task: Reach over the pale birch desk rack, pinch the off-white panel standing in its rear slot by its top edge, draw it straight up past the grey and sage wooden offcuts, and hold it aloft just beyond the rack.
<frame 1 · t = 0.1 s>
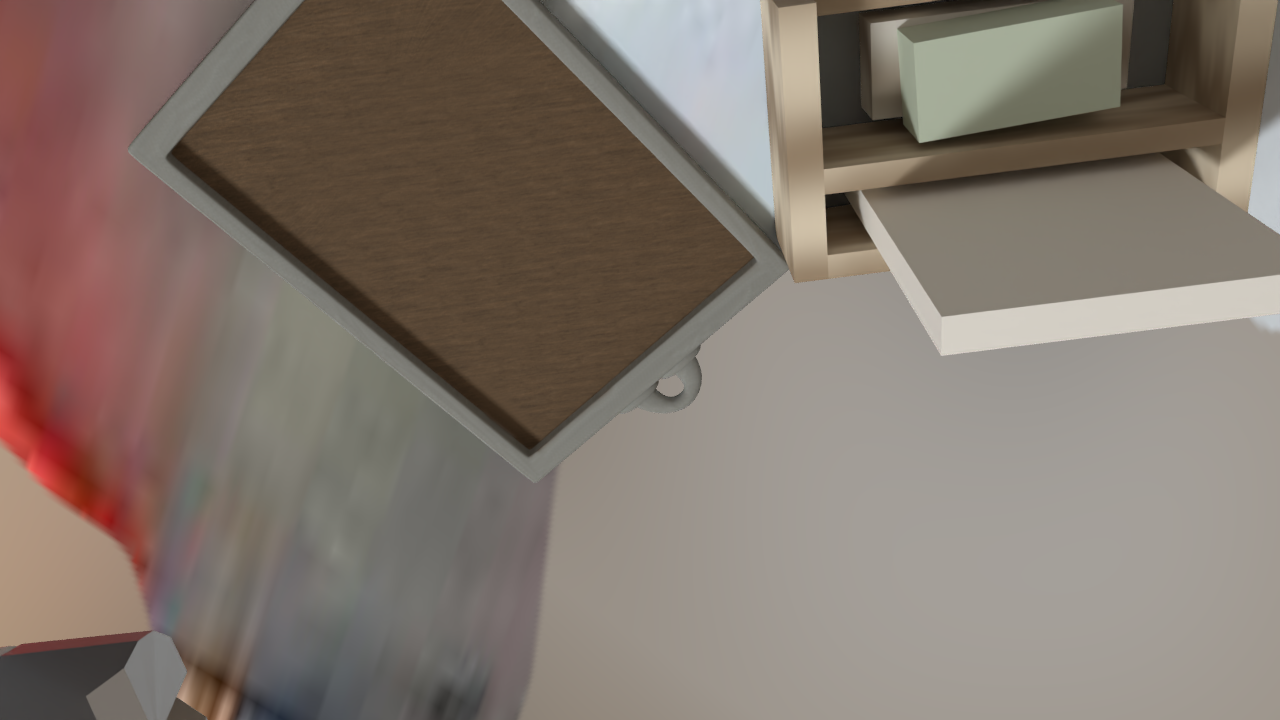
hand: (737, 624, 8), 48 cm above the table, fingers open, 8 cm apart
offcut top: (996, 59, 52), point 2 cm above the table, touching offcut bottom
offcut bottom: (980, 42, 55), on the table, touching offcut top
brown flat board: (493, 216, 58), on the table
rack: (981, 160, 57), on the table
off-white rectangular board: (980, 159, 57), on the table
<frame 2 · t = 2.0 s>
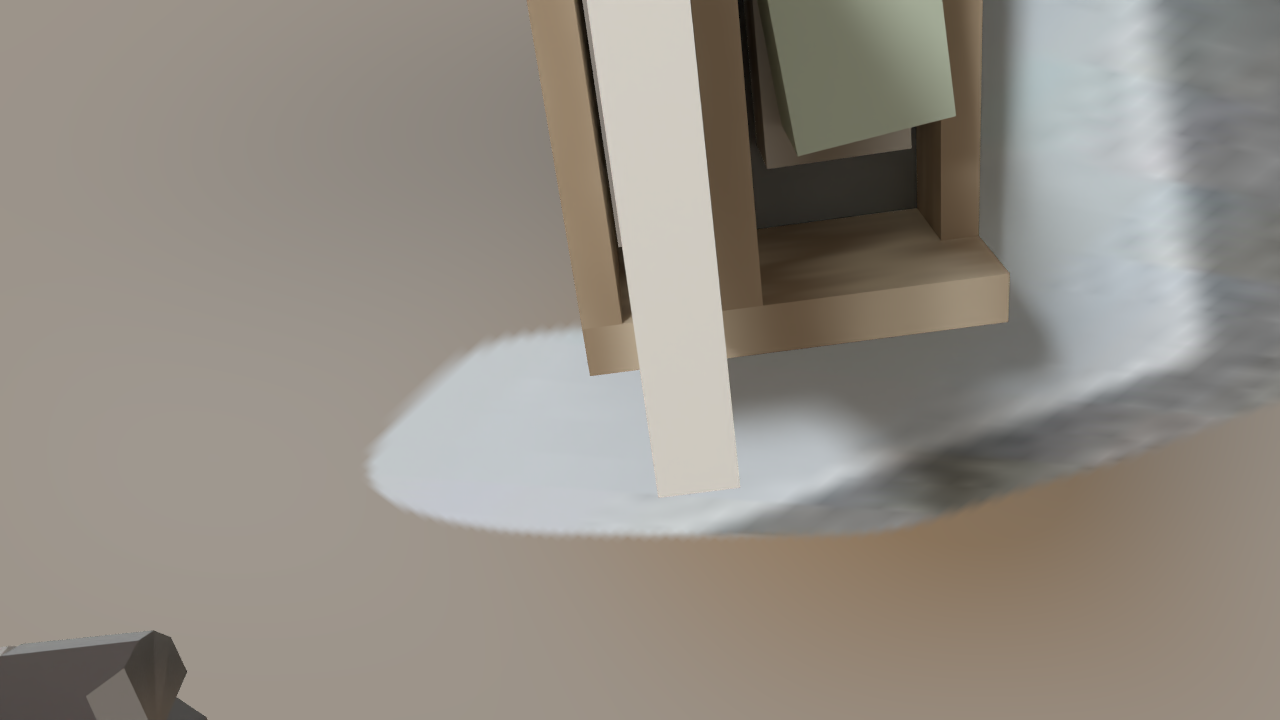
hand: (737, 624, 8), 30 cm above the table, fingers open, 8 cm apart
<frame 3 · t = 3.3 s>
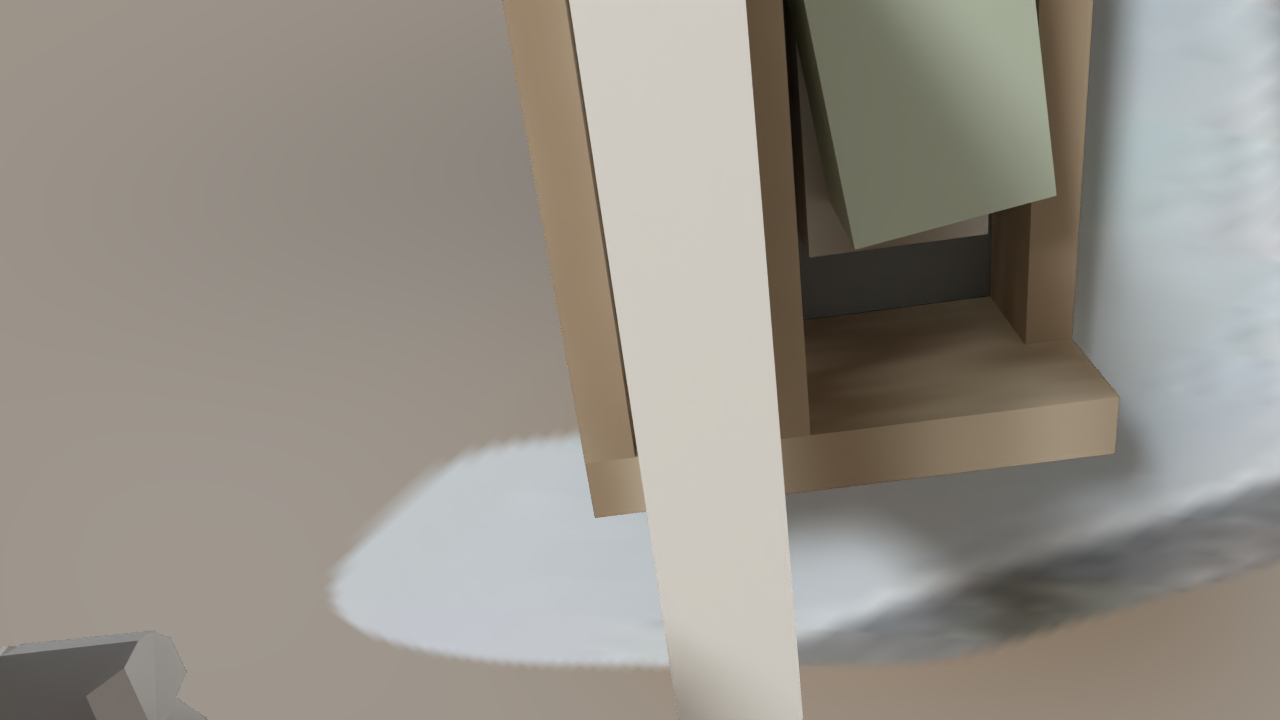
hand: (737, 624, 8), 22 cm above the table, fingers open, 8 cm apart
rack: (641, 14, 28), on the table
off-white rectangular board: (641, 14, 28), on the table
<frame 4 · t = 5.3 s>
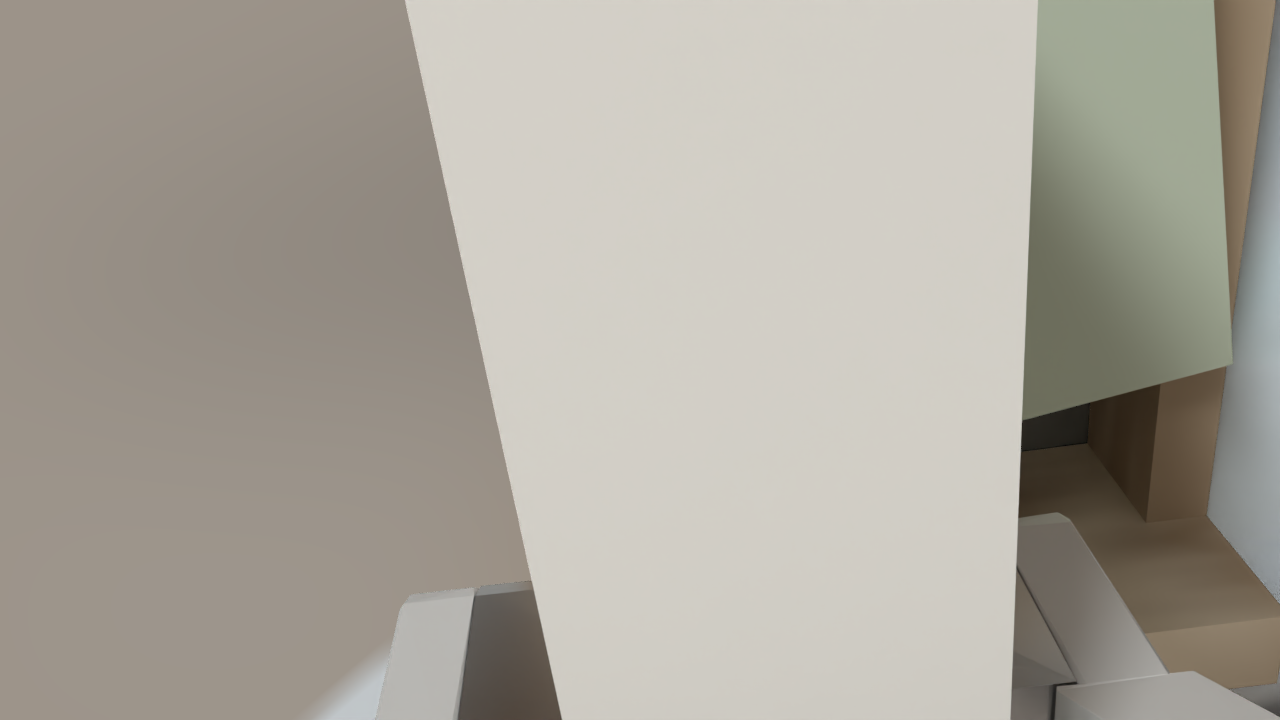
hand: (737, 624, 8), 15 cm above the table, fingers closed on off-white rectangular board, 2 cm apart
offcut top: (994, 89, 19), point 2 cm above the table, touching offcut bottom
rack: (647, 100, 21), on the table
off-white rectangular board: (646, 99, 21), on the table, touching gripper
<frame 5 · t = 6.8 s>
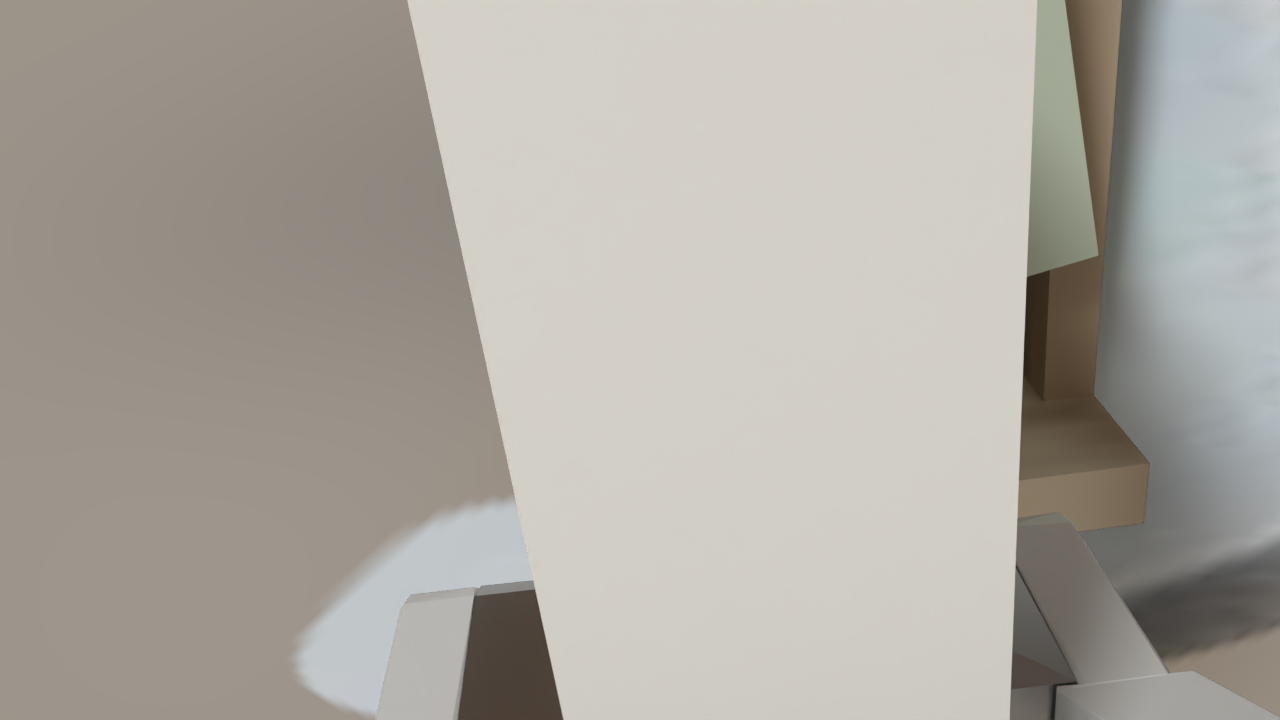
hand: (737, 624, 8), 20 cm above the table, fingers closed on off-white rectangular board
offcut top: (906, 40, 23), point 3 cm above the table, touching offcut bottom
rack: (625, 47, 26), on the table
off-white rectangular board: (646, 99, 21), point 5 cm above the table, touching gripper
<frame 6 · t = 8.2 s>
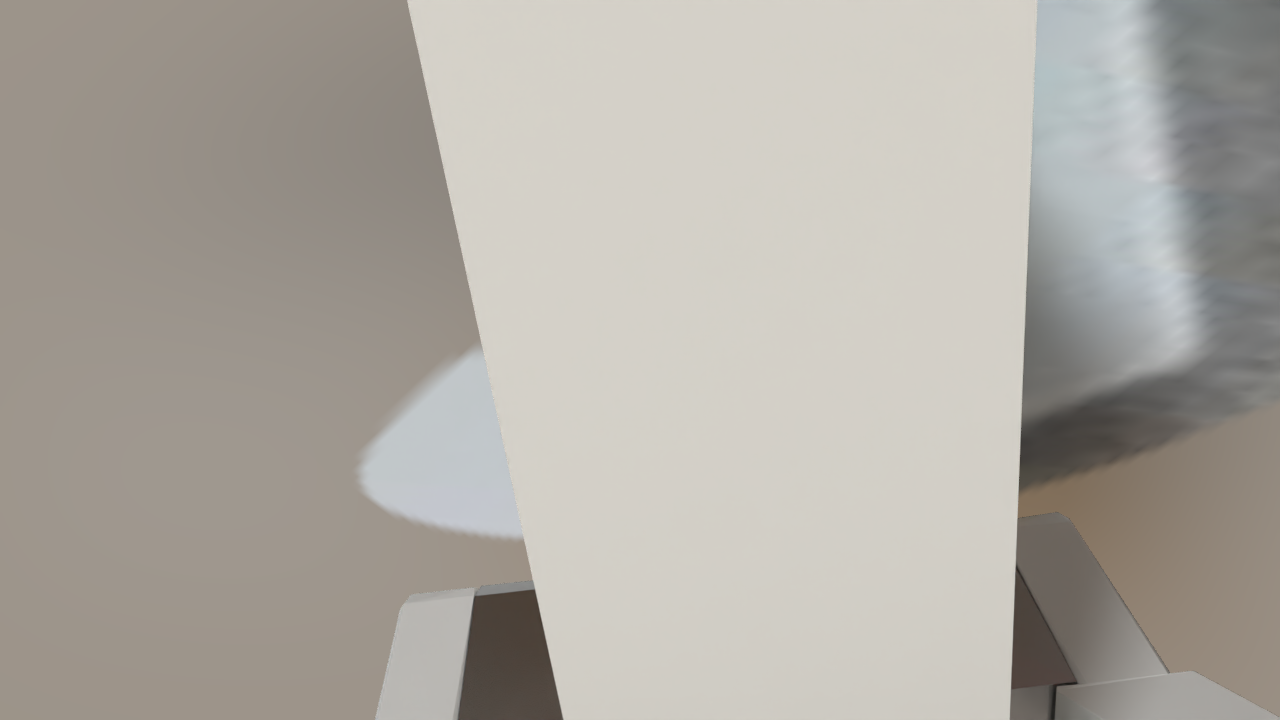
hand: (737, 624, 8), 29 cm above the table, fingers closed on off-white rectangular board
off-white rectangular board: (646, 100, 21), point 15 cm above the table, touching gripper
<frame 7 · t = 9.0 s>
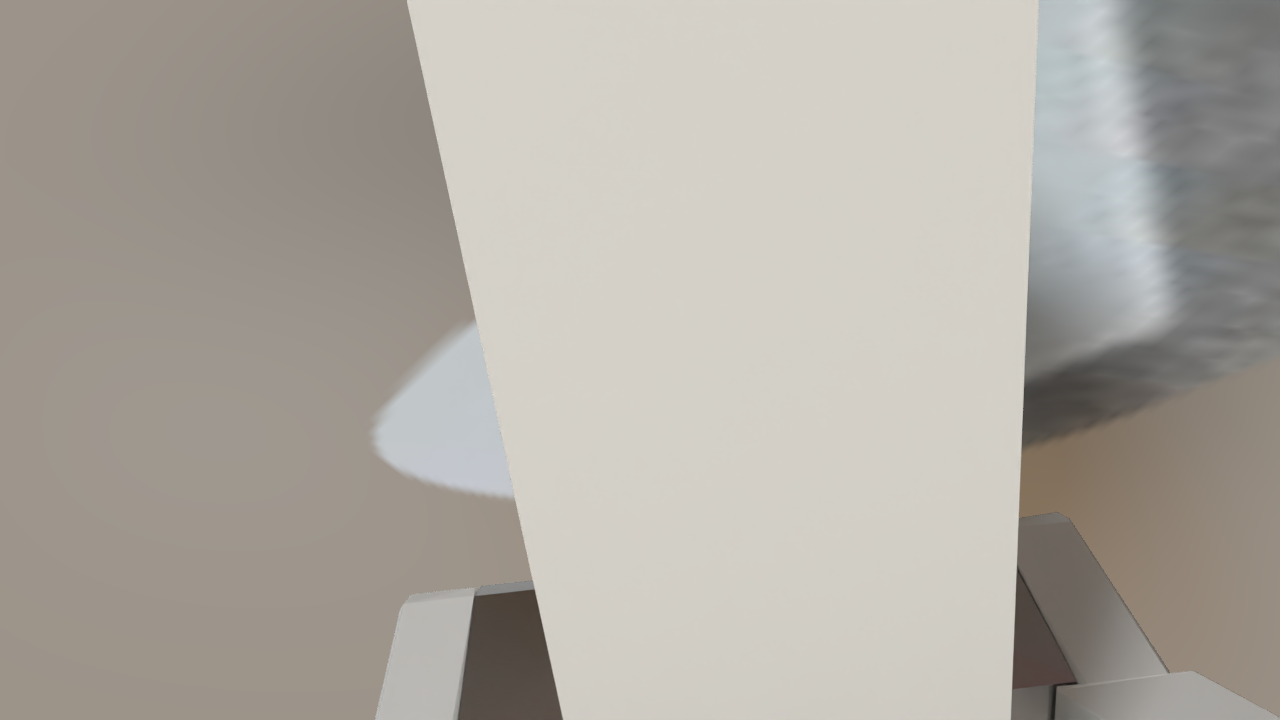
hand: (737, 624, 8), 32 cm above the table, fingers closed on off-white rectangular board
off-white rectangular board: (646, 100, 21), point 17 cm above the table, touching gripper
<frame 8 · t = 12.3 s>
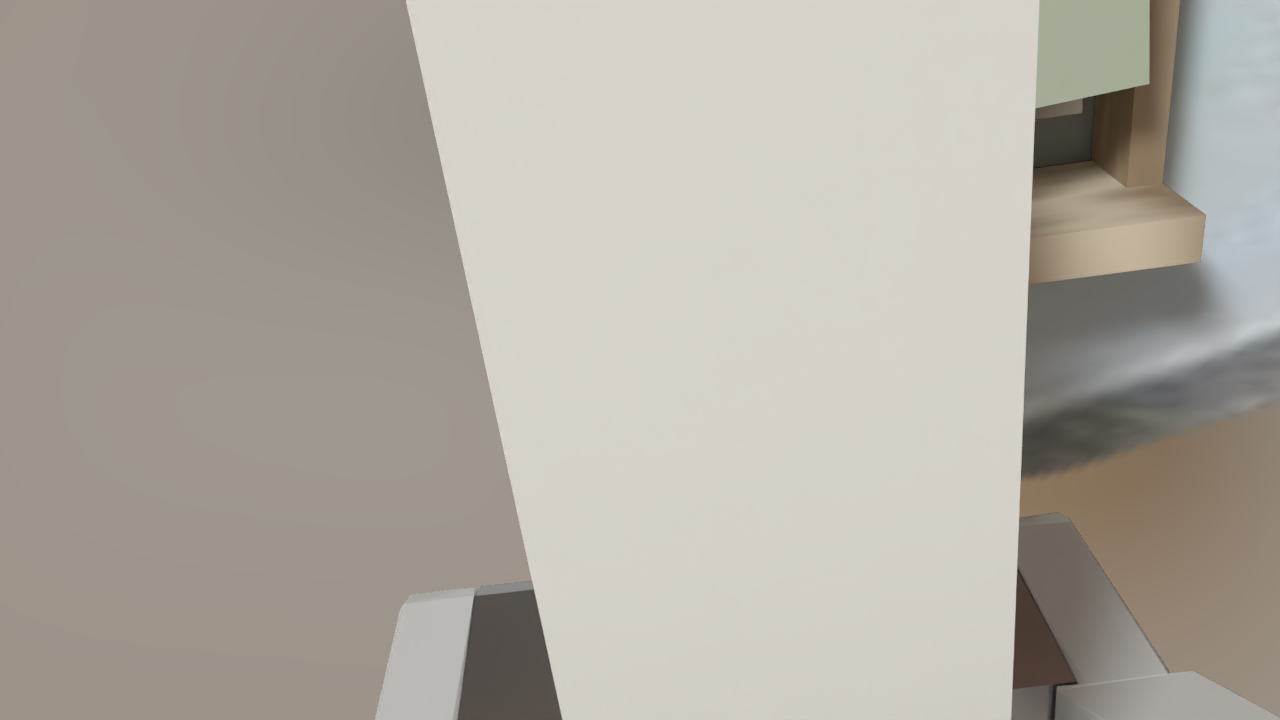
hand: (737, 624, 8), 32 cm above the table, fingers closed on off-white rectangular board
off-white rectangular board: (647, 100, 21), point 17 cm above the table, touching gripper
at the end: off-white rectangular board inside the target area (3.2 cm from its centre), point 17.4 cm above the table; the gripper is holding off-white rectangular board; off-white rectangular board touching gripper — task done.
